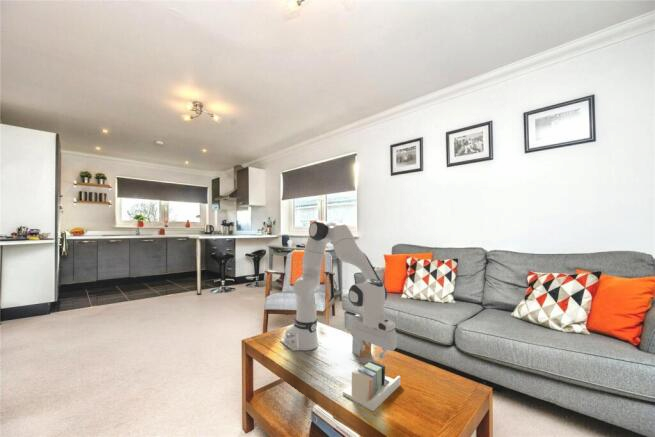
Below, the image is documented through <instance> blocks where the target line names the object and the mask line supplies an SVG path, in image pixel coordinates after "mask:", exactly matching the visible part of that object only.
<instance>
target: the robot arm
mask: <svg viewBox="0 0 655 437" xmlns="http://www.w3.org/2000/svg"><path fill="white" fill-rule="evenodd" d="M328 244H331V245H332V248H333V249H334V250H333V251H334V253H335V255H336V257H337V259H339V260H340V261H342V262H344V263H345V264H349V265H352V266H355V267H357V268H358V269H359V270H360V271H361V273H362V275H363V276H364V278H365V281H364V282H361V283H356V284H352V285H351V286H350V287H349V289H348V300H349V303H350V304H352V305H353V306H354V307H358V308H359V307H361V308H362V309H363V311H362V315H359V314H354V315H353V316H352V318H351V319H352V320H351V321H352V323H351V328H350V335H351V337H352V338H353V337H355V338H358V342H359V345H360V350H365V345H364V344H363V341H366V342H369V343H371V345H374V346H377V347H380V348H381V350H382V351H381V352H379V358H381V359H385V358H386V357H385V356H386V353H387V352H388V351H391V352H392V351H394V350H395V349H396V348H397V346H398V335H397V331H396V329H395V328H396V326H397V325H396V324H397V323H396V322H395V321H393V320H391V318H388V317H387V315H385V305H386V300H387V298H388V290H387V288H386V286H385V284H384V282H382V281H381V279H380V277H379V276H378V274H377V271H375V268H374V266H373V264H372V262H371V260H370V259H369V257H368V256H367V255H366V254H365V253H364V252H363V251H362V249H360V247H359V246H358V245H357V243H356V240H355V237H354V235H353V233H352V231H351V230H350V228H349V226H348V225H347V224H345V223H336V222H332V221H323V220H314V221H312V222H311V223H310V225H309V228H308V237H307V241H306V244H305V249H304V252H303V257H302V261H301V262H302V263H301V264H302V274H301V275H300V277H298V278H297V279H296V280H295V282H294V283H293V286H292V290H293V291H292V292H293V293H294V295H295V301H296V302H295V303H296V317H295V318H294V319H293V322H294V323H293V325H291V326H290V327H289V328H287V329H286V330H285V334H284V336H283V337H281V338H280V342H281V343H282V344H284V345H285V346H287V347H288V348H289V349H290V350H291V351H295V352H296V351H311V350H315V349H317V347H318V346H319V342H318V341H319V339H318V334H317V333H318V332H317V330H318V329H317V326H318V319H317V303H316V298H315V297H316V295H315V292H316V291H317V290H318V289H319V287H320V284H321V275H322V274H321V273H322V265H323V262H324V261H323V260H324V256H325V252H326V246H327V245H328Z"/></svg>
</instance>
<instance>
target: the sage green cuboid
mask: <svg viewBox="0 0 655 437" xmlns="http://www.w3.org/2000/svg"><path fill="white" fill-rule="evenodd" d="M363 368H365V369H367V370H370V371H372V372H374V373H376V392H377V391H378V390H379V389H380V388H381V381H382V367H379V366H377V365H374V364H372V363H370V361H369V362H368V363H366V364H365V365H363Z"/></svg>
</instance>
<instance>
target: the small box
mask: <svg viewBox="0 0 655 437" xmlns="http://www.w3.org/2000/svg"><path fill="white" fill-rule="evenodd" d="M351 344H352V347H351V348H352V349H351V353H352V354H355V356H357V357H359V358H360V357H363V356H367V355H370V354H371V353H372V344H371V343H369V342H366V341H363V344H364V345H365V350H360V345H359V342H358V338H355V337H353V336H352V343H351Z"/></svg>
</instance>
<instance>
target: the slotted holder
mask: <svg viewBox="0 0 655 437" xmlns="http://www.w3.org/2000/svg"><path fill="white" fill-rule="evenodd" d="M369 362H370V363H372V364H374V365H377V366H379V367H382V381H381V388H380V389H379V390H378V391H377V392H376V373H374V372H372V371H370V370H367V369H365V368H364V366H363V367H362V366H360V367H359V368H358V369H357V370H356V369H354V370H353V371H352V372H351V385H349V386H347V387H346V388H345V389H344V390H342V395H343V396H344V397H347V398H348V399H350V400H352V401H354V402H355V403H357V404H359V405H361V406H363V407H364V408H366V409H369V410H370V411H372V412H374V411H375V410H376V409H378V407H380V405H382V403H384V402H385V401H386V400H387V398H389V397H390V396H391V395H392V394H393V393H394V392H395V391H396V390H397V389H398V388H399V387H400V386H401V376H400V375H397V376H395V378H392V377H390V376H388V375H387V376H386V365H383V364H381V363H378V362H375V361H373V360H369Z"/></svg>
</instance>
